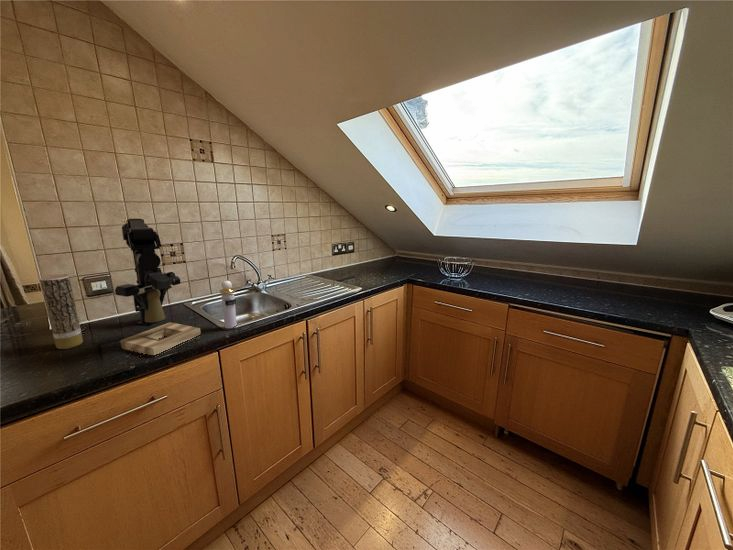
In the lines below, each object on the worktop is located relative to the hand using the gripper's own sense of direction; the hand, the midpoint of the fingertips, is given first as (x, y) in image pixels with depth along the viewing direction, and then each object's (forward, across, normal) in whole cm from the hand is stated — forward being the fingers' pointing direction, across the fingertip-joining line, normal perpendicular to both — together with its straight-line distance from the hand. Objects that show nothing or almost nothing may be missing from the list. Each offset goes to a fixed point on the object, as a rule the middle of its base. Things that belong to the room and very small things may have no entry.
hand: (153, 308), depth 105 cm
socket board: (+13, +1, -1) cm, 13 cm away
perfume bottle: (+13, +20, -14) cm, 28 cm away
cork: (+4, 0, 0) cm, 4 cm away
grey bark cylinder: (+13, -14, +26) cm, 32 cm away
